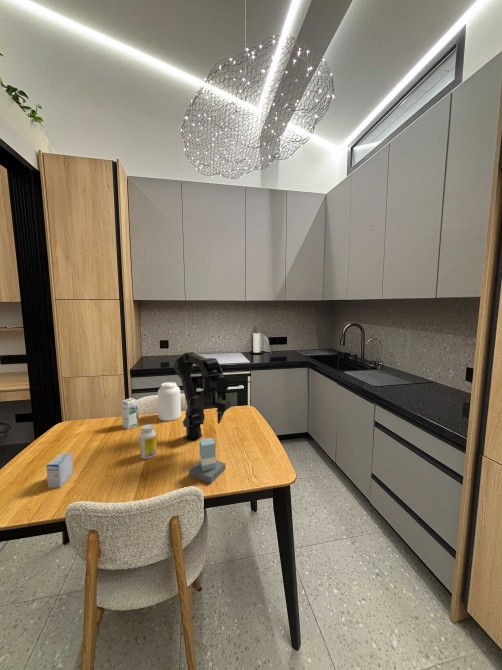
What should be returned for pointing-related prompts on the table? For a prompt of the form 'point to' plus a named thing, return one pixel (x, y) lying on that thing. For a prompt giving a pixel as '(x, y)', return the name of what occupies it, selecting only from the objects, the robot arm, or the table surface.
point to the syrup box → (129, 413)
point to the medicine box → (59, 470)
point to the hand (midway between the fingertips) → (210, 421)
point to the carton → (207, 454)
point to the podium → (207, 472)
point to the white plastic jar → (169, 402)
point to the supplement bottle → (147, 442)
